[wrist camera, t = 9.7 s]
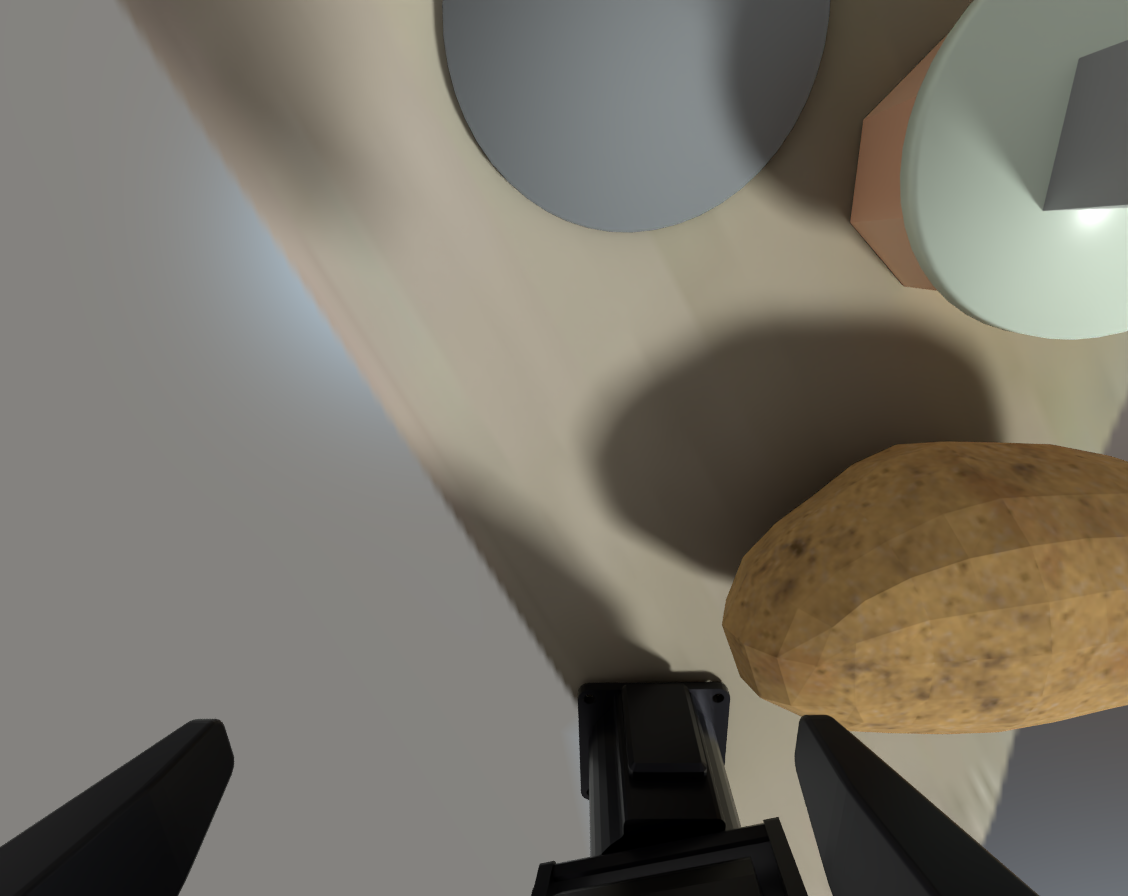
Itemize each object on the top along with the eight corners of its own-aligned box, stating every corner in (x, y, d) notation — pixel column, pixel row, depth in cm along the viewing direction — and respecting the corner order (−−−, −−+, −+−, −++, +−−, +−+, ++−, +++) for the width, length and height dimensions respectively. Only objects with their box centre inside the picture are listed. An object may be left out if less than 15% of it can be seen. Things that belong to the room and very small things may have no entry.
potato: (675, 447, 21) (730, 562, 13) (1079, 366, 19) (1395, 443, 12) (711, 656, 24) (771, 844, 16) (1059, 599, 23) (1299, 776, 15)
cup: (1058, 281, 18) (1200, 291, 14) (841, 288, 19) (918, 301, 14) (1122, 26, 16) (1317, -52, 12) (874, 39, 16) (976, -33, 12)
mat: (802, 225, 18) (807, 225, 18) (464, 238, 18) (461, 238, 18) (850, -237, 14) (857, -250, 14) (424, -208, 15) (420, -219, 14)
